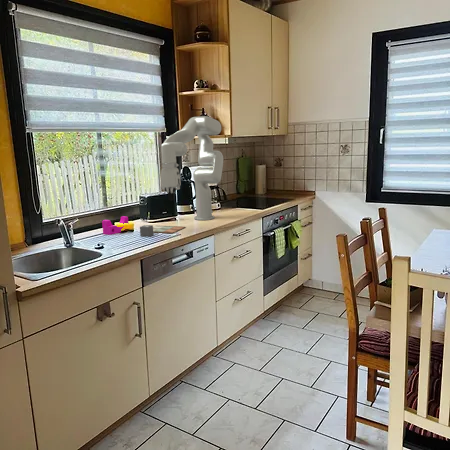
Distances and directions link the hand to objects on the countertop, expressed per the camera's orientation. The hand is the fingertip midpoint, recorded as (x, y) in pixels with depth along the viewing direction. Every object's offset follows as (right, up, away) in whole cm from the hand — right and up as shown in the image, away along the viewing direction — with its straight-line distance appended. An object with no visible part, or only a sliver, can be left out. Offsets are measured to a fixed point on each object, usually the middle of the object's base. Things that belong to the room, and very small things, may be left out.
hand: (171, 200), depth 230 cm
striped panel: (-5, -16, +5) cm, 18 cm away
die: (-12, -19, -7) cm, 24 cm away
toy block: (-31, -18, +6) cm, 36 cm away
